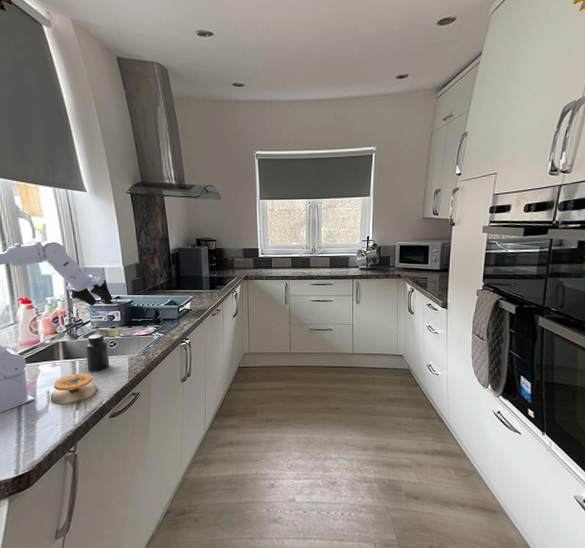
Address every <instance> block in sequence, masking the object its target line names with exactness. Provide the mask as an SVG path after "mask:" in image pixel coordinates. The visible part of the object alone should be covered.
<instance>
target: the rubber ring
mask: <svg viewBox="0 0 585 548" xmlns="http://www.w3.org/2000/svg"><path fill="white" fill-rule="evenodd" d="M71 377H78V382H75V383H69V378H71ZM92 378H93V377H92V375H91V374H89V373H74V374H69V375H66V376H64V377H59V378H58V379H57V380H56V381H54V383H53V384H54V385H53V387H54V389H55V390H56V389H57V390H67V391H68V390H73V389H78V388H81V387H83V386H86V385H88V384H89V383H90V382H93V381H92V380H93V379H92Z"/></svg>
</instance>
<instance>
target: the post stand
mask: <svg viewBox="0 0 585 548" xmlns="http://www.w3.org/2000/svg"><path fill="white" fill-rule="evenodd" d="M78 381H79V380H78V377H71V378H69V382H68V383H75V382H78ZM97 390H98V386H97V384H95V382H93V381H91V382H90V383H89V384H88V385H86V386H83V387H81V388H78V389H73V390H68V391H67V390H57V389H55V390H54V391H52V393H51V394H50V401H51V402H52V403H54V404H57V405H68V404H74V403H78V402H81V401H84V400H87V399H89V398H91V397H92V396H94V395H95V394H96V393H97Z"/></svg>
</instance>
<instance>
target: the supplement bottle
mask: <svg viewBox="0 0 585 548" xmlns="http://www.w3.org/2000/svg"><path fill="white" fill-rule="evenodd" d="M87 339H88V341H87V343H88V344H86V346H85V352H86V353H85V355H86V364H87V366H86V367H87V370H88V371H90V372H100V371H104V370H106V369H107V368H108V367H109V366H110V360H109V359H110V358H109V357H110V356H109V347H108V343H107V342H106V341H105V338H104V334H101V333H100V334H99V333H98V334H97V333H96V334H91V335H89V336H88V337H87Z"/></svg>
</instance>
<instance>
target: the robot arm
mask: <svg viewBox="0 0 585 548" xmlns="http://www.w3.org/2000/svg"><path fill="white" fill-rule="evenodd" d="M45 261H47V263H48V264H49V265H50V266H52V269H54V271H56V272H57V273H58V274H59V276H61V277H62V278H63V279H64V280H65V281H66V282H67V283H68V285H67V286H66V288H65V289H66V290H67V291H68V292H69V293H71V295H70V297H71V298H74V299H78V300H80V301H82V302H84V303H86V304H88V305H90V306H91V307H93V306H94V305H95V304H96V303H97V302H98V301H97V300H96V298H95V297H94V296H93V295H96V296H98V297H99V298H101V299H102V300H103V301H104V302H105V303H107V304H109V303H111V301H112V300H113V296H112V295H111V293H110V291H109V289H108V285H107V281H106V279H102V277H94V275H93V274H88V273H87V272H86V271H85V270H84V269H83V268H82V266H80V265H79V264H78V263H77V261H75V260H74V259H73V257H71V256H70V255H69V254H68V253H67V252H66V248H65V246H64V245H62V244H60V243H58V242H55V241H45V240H43V241H35V243H29V244H21V243H14V244H13V246H9V247H8V248H7V249H6V250H5V251H3V252H0V266H2V265H7V264H8V265H11V266H13V267H16V268H17V267H21V266H28V265H34V264H39V263H43V262H45ZM92 287H93V288H92ZM89 288H92V289H91V290H89ZM26 366H27V361H26V359H25V357H24V356H22V355H20V354H19V353H18V352H17V351H16V350H15V349H14V348H12V347H7V346H4V345H3V344H1V343H0V414H1V413H4V412H6V411H8V410H11V409H14V408H16V407H19V406H21V405H24V404H27V403H29V402H32V401H34V400H35V397H33V396H31V395H29V394H28V387H27V386H28V385H27V377H26V376H27V375H26Z"/></svg>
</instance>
